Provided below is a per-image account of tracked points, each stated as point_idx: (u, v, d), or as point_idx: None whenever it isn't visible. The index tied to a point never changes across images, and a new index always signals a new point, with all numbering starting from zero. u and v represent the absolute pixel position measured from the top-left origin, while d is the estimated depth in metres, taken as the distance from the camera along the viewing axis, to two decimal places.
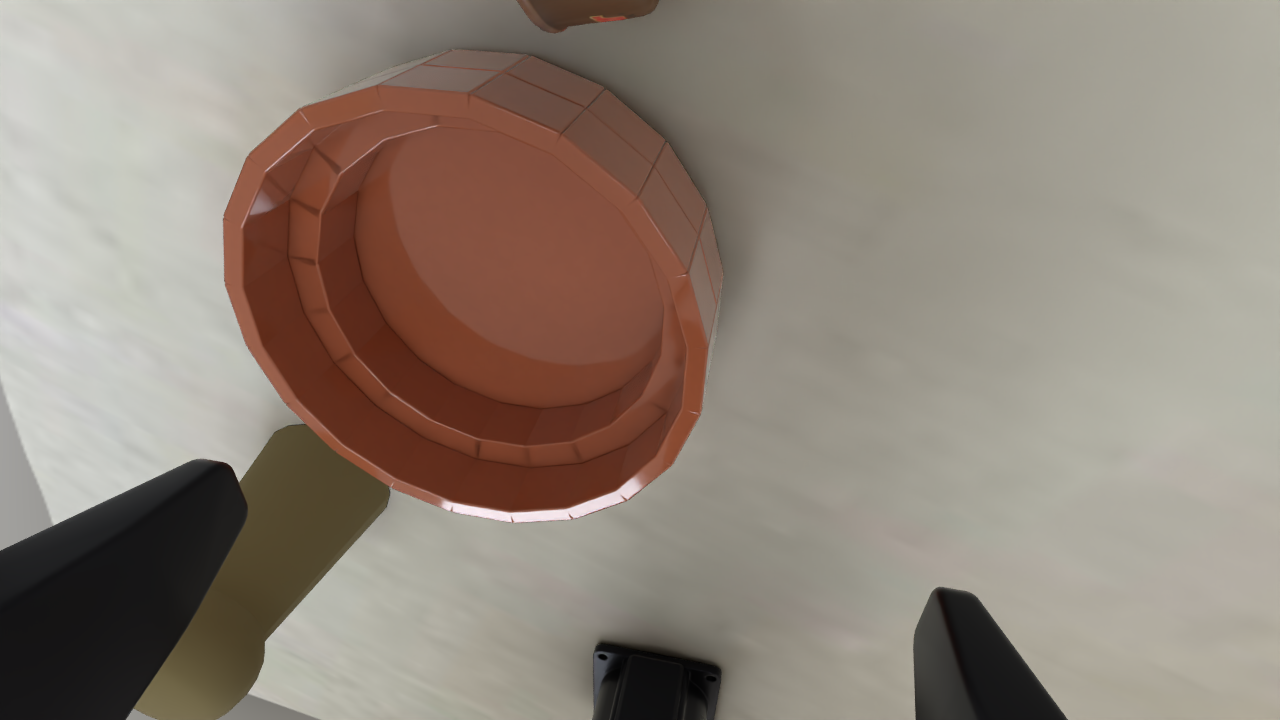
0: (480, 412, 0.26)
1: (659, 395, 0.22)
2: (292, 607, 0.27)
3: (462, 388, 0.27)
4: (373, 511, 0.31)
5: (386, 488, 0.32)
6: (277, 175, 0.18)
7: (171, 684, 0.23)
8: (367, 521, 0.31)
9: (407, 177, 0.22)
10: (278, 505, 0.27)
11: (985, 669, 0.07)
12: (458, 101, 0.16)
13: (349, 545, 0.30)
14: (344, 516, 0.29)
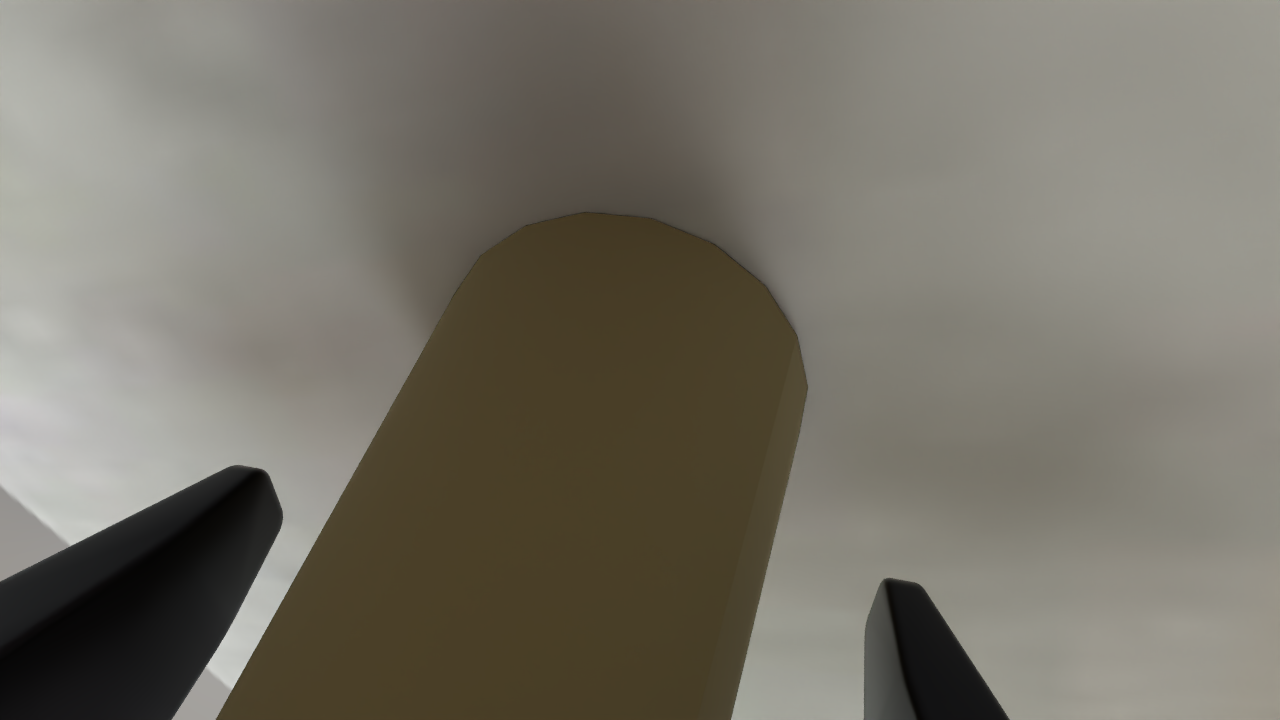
0: None
1: None
2: None
3: None
4: (780, 380, 0.09)
5: (777, 311, 0.10)
6: None
7: None
8: (781, 415, 0.09)
9: None
10: (450, 420, 0.07)
11: (924, 658, 0.07)
12: None
13: (772, 502, 0.08)
14: (696, 390, 0.08)
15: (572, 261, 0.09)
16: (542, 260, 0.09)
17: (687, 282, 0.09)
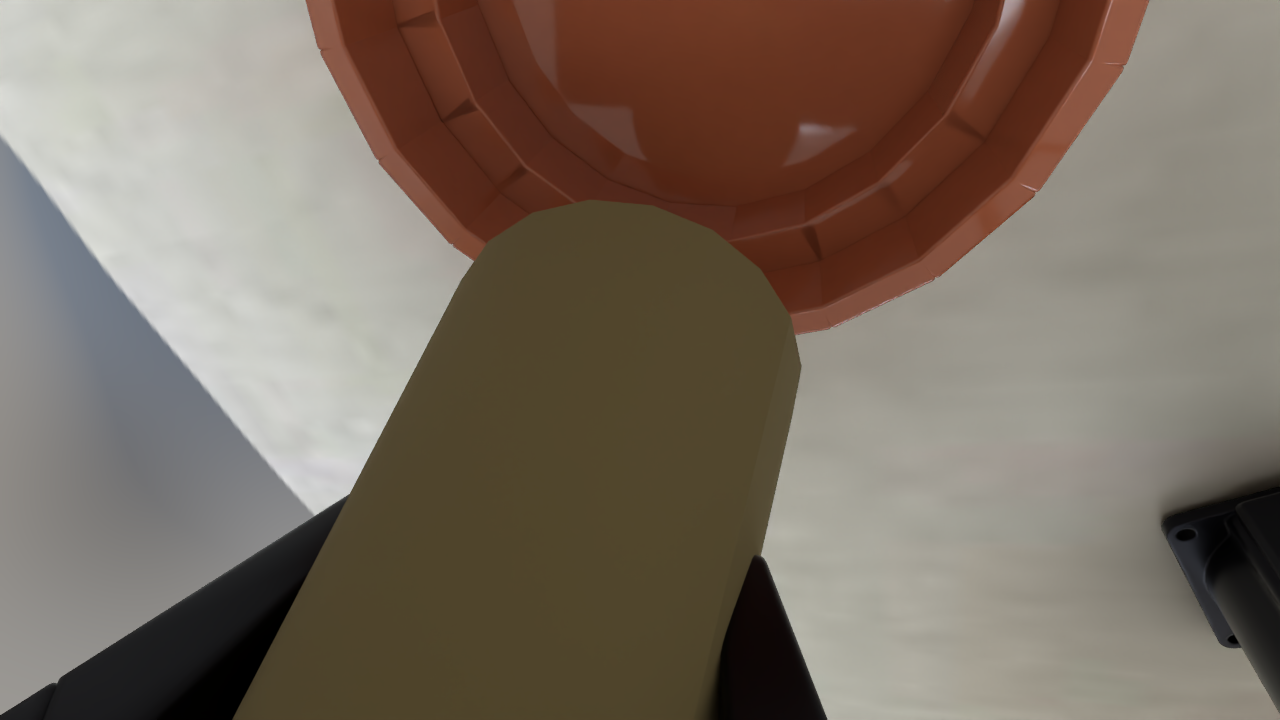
0: (787, 205, 0.17)
1: None
2: None
3: (747, 204, 0.18)
4: (777, 358, 0.10)
5: (772, 293, 0.10)
6: None
7: None
8: (778, 390, 0.10)
9: None
10: (470, 391, 0.07)
11: (744, 624, 0.07)
12: None
13: (770, 471, 0.09)
14: (699, 364, 0.08)
15: (579, 245, 0.09)
16: (550, 244, 0.09)
17: (688, 265, 0.09)
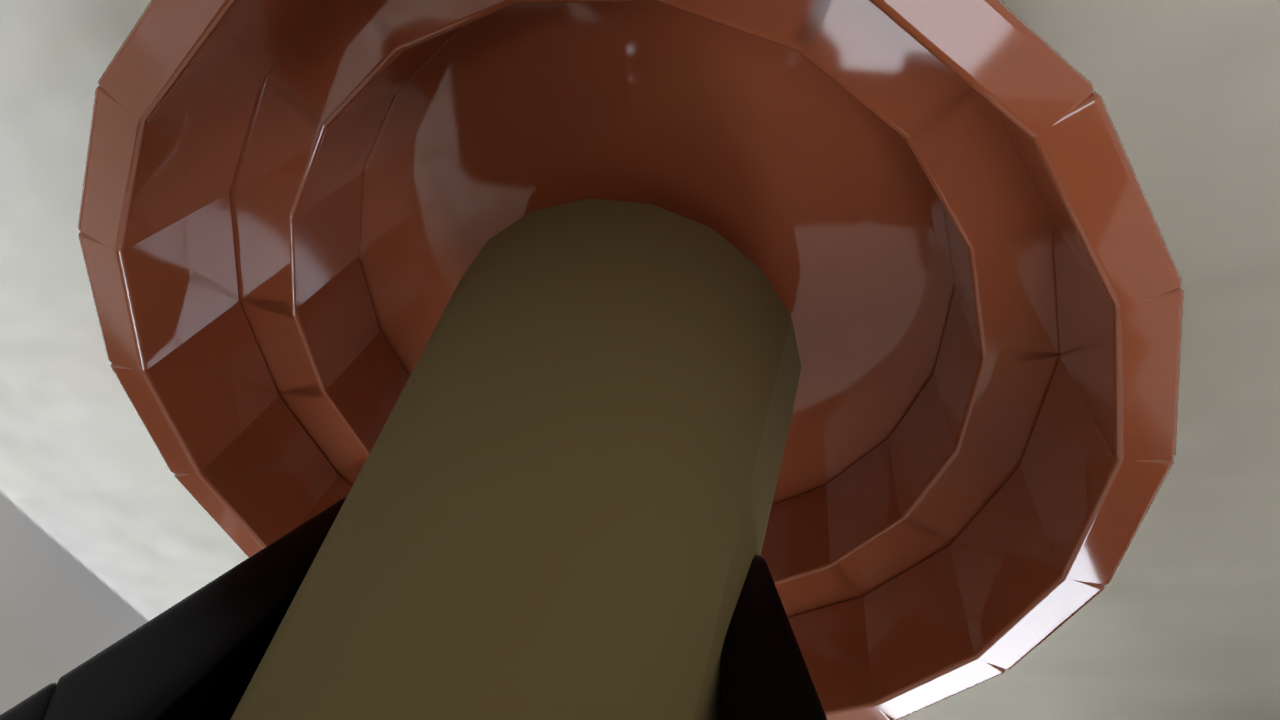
0: None
1: (1020, 332, 0.10)
2: None
3: None
4: (777, 357, 0.10)
5: (772, 292, 0.10)
6: (185, 366, 0.11)
7: None
8: (778, 389, 0.10)
9: (414, 267, 0.14)
10: (470, 389, 0.07)
11: (744, 624, 0.07)
12: None
13: (770, 470, 0.09)
14: (699, 362, 0.08)
15: (579, 244, 0.09)
16: (549, 243, 0.09)
17: (688, 263, 0.09)
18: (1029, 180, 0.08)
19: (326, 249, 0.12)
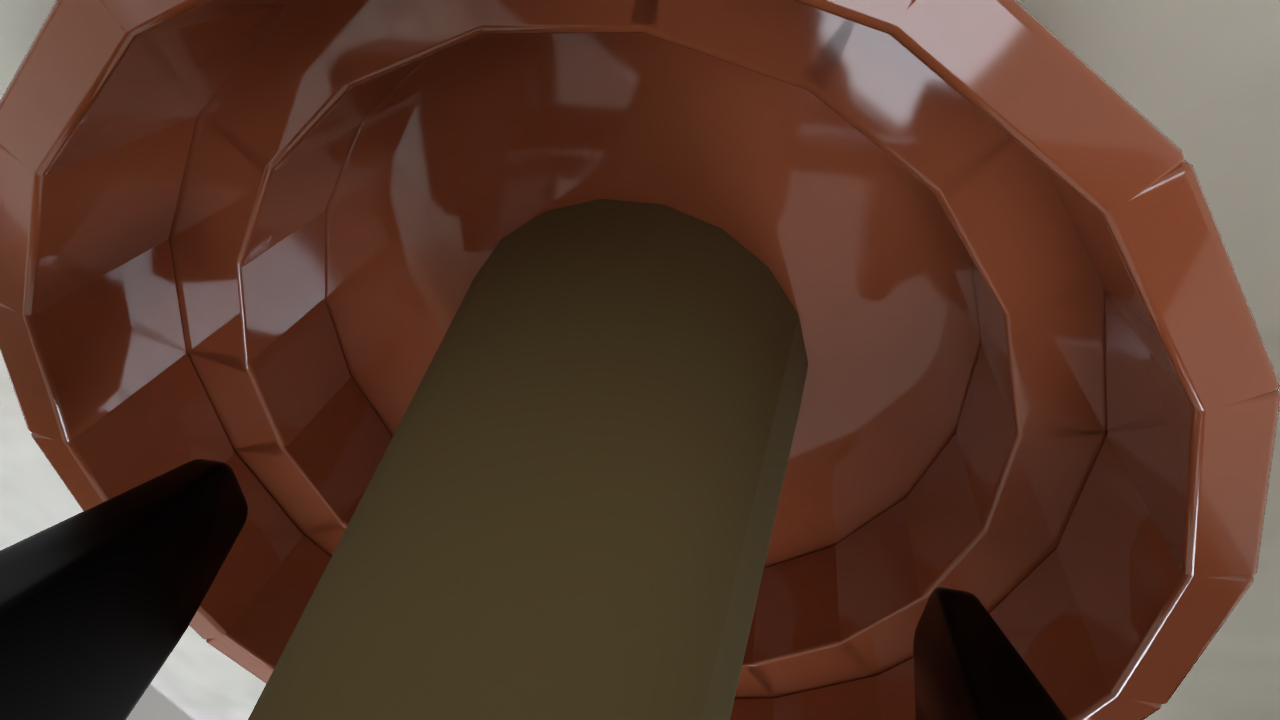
0: None
1: (1062, 406, 0.08)
2: (716, 716, 0.06)
3: None
4: (785, 355, 0.10)
5: (780, 292, 0.11)
6: (119, 432, 0.10)
7: None
8: (786, 386, 0.10)
9: (385, 310, 0.12)
10: (488, 384, 0.08)
11: (985, 669, 0.07)
12: (80, 10, 0.06)
13: (778, 465, 0.09)
14: (709, 359, 0.08)
15: (592, 243, 0.10)
16: (563, 242, 0.10)
17: (699, 263, 0.10)
18: (1078, 240, 0.07)
19: (284, 295, 0.11)
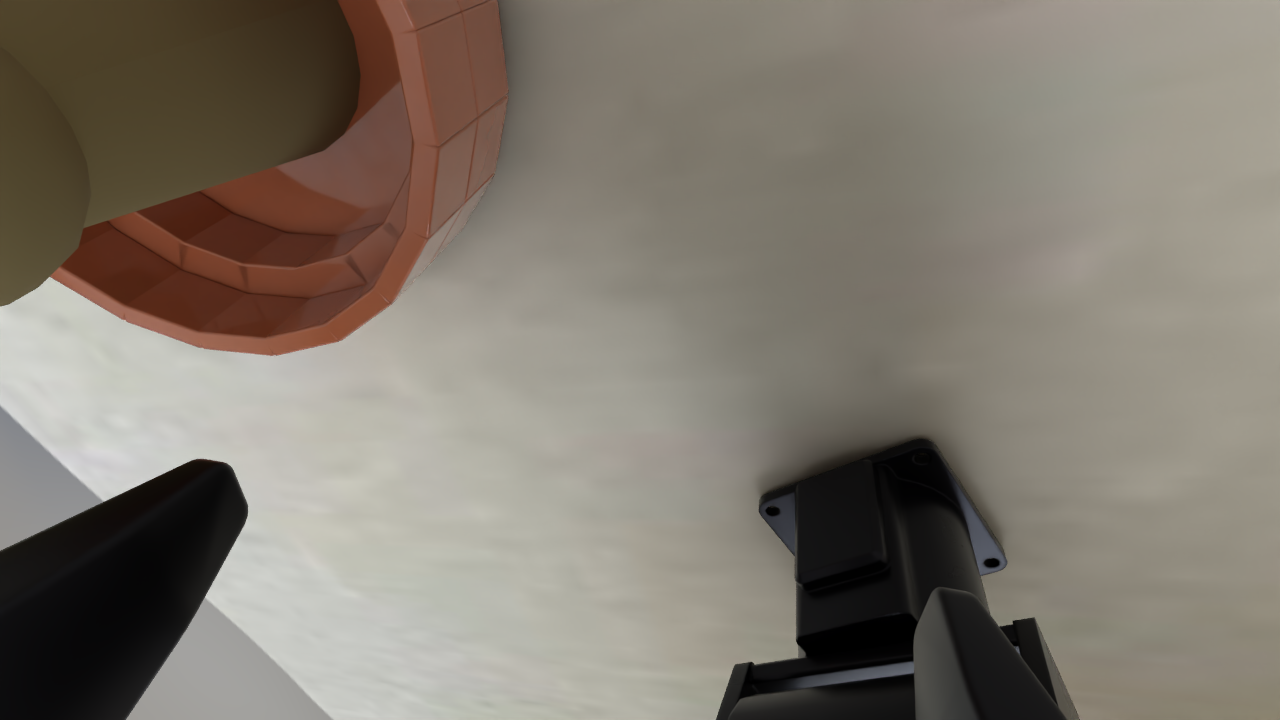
0: (356, 237, 0.20)
1: None
2: (135, 84, 0.13)
3: (342, 234, 0.21)
4: (302, 3, 0.17)
5: None
6: None
7: None
8: (297, 18, 0.16)
9: None
10: None
11: (985, 669, 0.07)
12: None
13: (271, 48, 0.16)
14: None
15: None
16: None
17: None
18: None
19: None
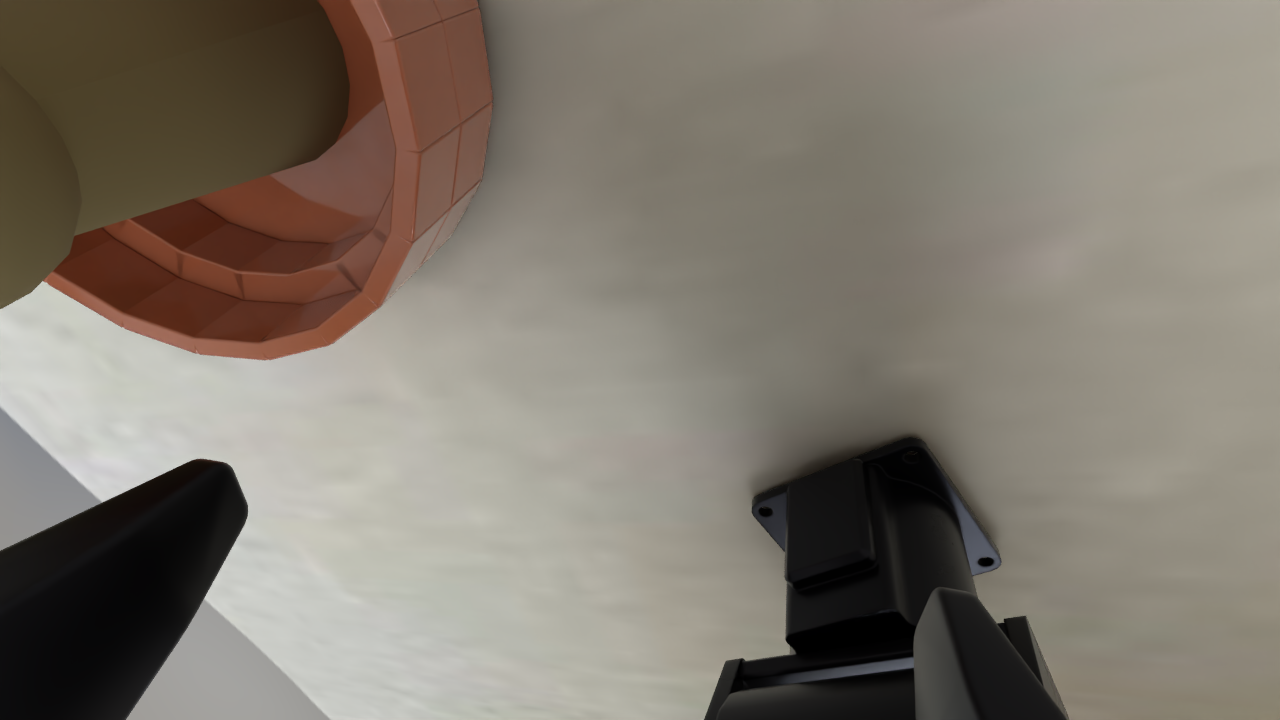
0: (348, 244, 0.21)
1: None
2: (124, 96, 0.13)
3: (335, 241, 0.22)
4: (290, 16, 0.17)
5: None
6: None
7: None
8: (285, 30, 0.17)
9: None
10: None
11: (985, 669, 0.07)
12: None
13: (260, 59, 0.16)
14: None
15: None
16: None
17: None
18: None
19: None
